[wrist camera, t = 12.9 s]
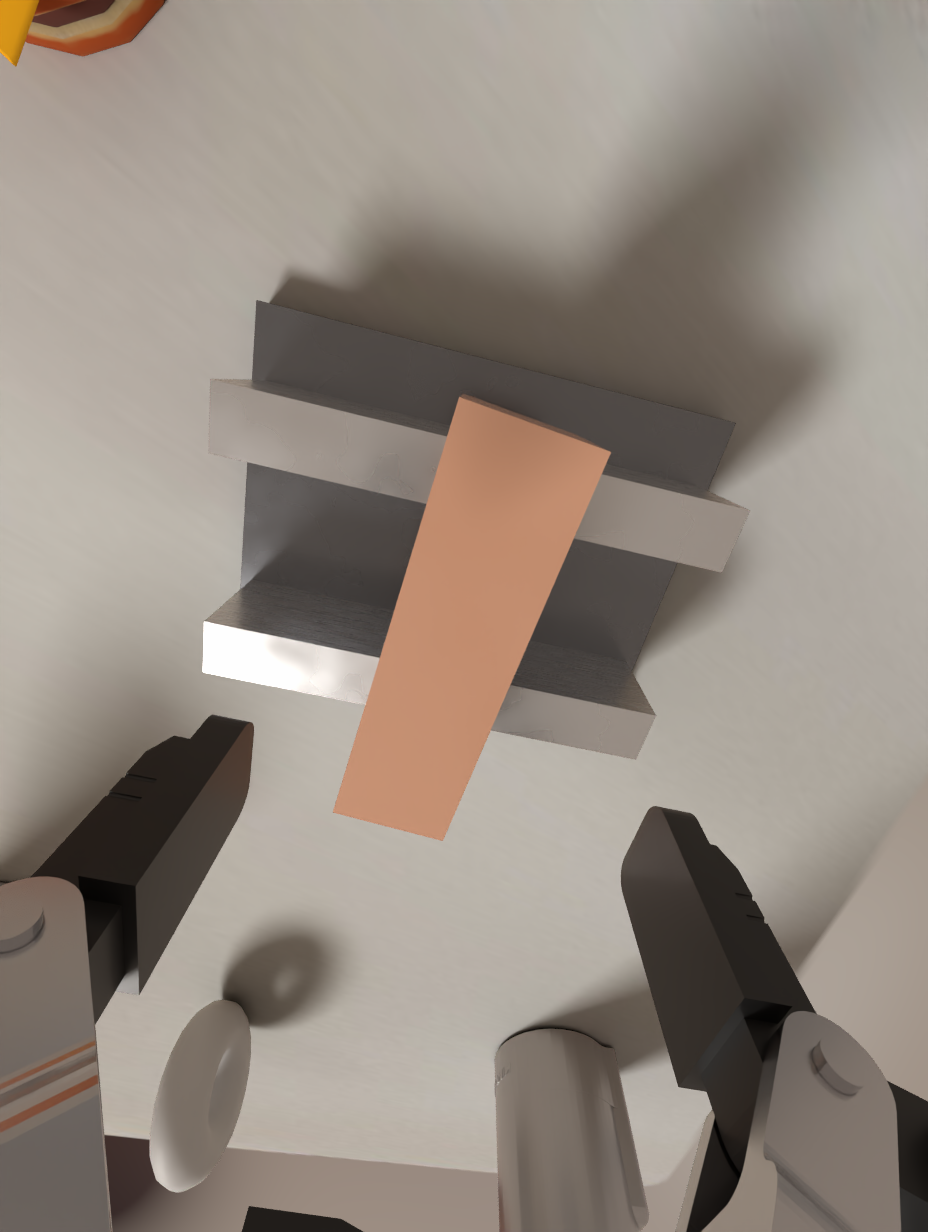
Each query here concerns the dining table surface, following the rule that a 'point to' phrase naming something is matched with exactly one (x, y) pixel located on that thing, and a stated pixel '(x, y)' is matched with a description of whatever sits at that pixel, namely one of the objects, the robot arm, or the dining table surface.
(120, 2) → the hamburger
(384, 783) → the clay strip
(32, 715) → the dining table surface
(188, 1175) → the donut
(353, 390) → the aluminium rail channel
